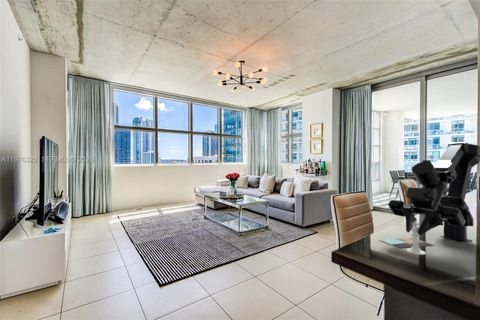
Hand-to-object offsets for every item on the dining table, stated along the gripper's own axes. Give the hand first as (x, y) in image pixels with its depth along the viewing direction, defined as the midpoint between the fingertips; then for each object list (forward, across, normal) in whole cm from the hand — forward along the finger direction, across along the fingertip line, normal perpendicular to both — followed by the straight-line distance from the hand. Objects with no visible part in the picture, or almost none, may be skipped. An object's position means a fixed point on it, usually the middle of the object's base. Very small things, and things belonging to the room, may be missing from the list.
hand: (413, 232), depth 69 cm
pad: (+1, -8, +7) cm, 11 cm away
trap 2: (-3, -2, +12) cm, 12 cm away
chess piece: (+4, 0, +6) cm, 7 cm away
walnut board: (-1, -6, +10) cm, 12 cm away
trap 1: (+2, -4, +6) cm, 8 cm away
